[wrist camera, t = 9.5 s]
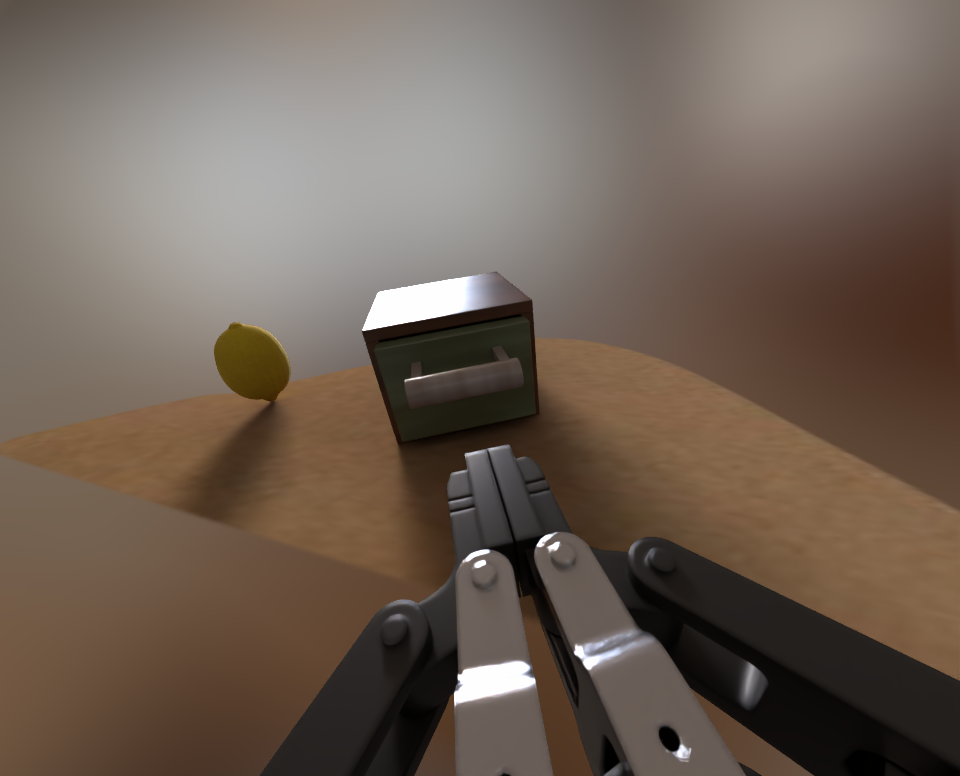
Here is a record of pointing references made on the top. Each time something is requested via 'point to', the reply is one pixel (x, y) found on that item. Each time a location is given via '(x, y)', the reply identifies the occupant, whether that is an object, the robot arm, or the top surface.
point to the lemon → (252, 362)
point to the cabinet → (444, 316)
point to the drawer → (458, 376)
